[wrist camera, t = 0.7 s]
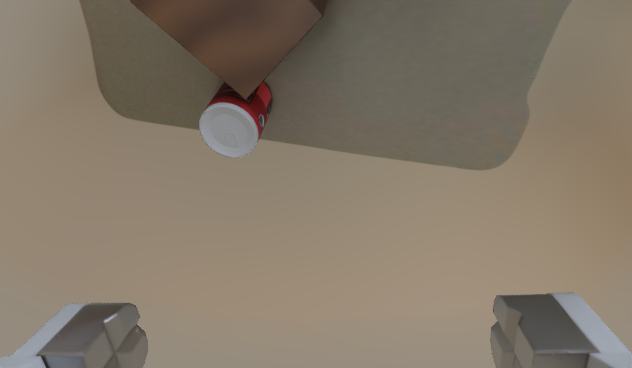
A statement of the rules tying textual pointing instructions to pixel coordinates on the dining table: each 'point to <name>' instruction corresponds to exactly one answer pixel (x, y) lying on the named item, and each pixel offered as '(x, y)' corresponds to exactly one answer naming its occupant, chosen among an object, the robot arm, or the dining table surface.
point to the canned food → (235, 120)
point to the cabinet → (236, 33)
